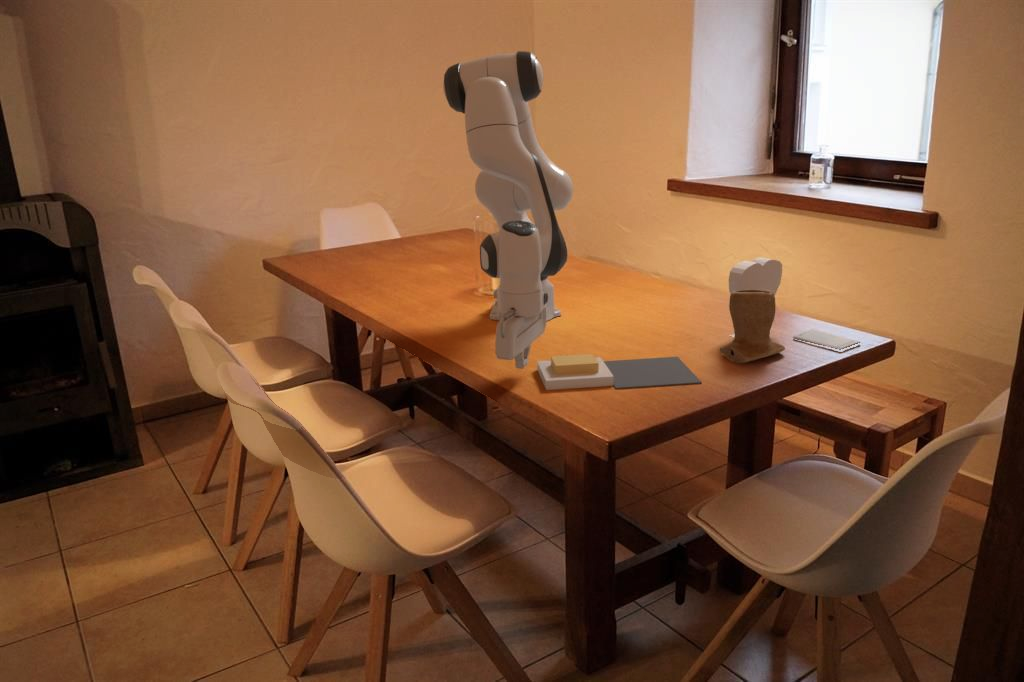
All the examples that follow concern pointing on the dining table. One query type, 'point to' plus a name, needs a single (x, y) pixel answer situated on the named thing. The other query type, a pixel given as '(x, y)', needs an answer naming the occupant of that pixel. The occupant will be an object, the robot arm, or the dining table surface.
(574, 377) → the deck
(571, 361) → the yellow rectangular block
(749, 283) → the heart sculpture
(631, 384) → the mat
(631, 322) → the dining table surface
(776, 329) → the dining table surface
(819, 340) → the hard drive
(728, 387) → the dining table surface
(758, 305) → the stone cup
